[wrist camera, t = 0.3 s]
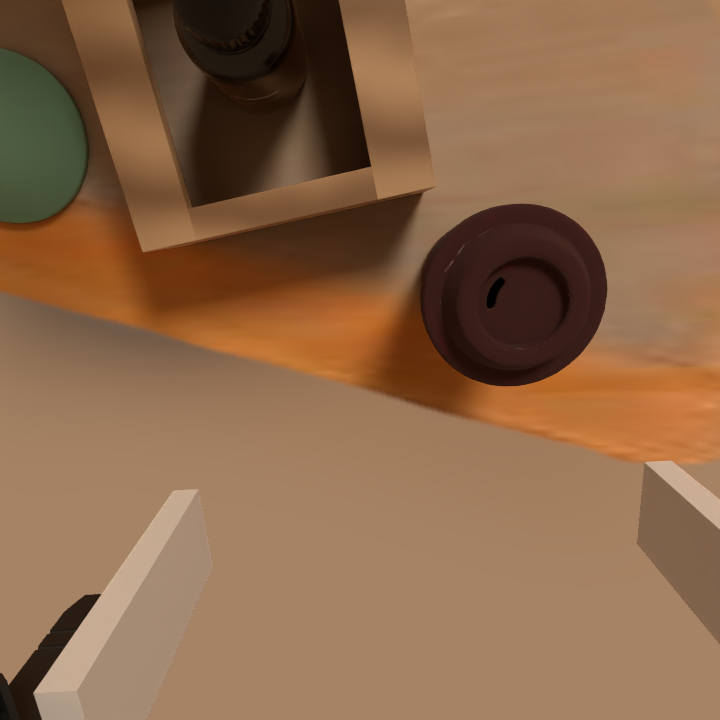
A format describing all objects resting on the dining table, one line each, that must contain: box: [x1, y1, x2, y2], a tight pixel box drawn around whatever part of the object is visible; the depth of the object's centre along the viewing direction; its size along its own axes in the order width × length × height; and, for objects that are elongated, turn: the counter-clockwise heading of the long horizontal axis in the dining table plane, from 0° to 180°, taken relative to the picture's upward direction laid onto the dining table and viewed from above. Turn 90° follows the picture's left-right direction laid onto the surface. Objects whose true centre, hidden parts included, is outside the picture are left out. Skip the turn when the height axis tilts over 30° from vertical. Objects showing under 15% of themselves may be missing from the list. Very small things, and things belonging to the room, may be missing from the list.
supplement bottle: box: [172, 0, 307, 111], centre depth 30 cm, size 7×7×12 cm
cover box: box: [61, 0, 436, 252], centre depth 33 cm, size 22×19×7 cm
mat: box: [0, 48, 89, 223], centre depth 38 cm, size 12×12×1 cm
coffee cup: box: [420, 204, 607, 386], centre depth 33 cm, size 10×10×15 cm
